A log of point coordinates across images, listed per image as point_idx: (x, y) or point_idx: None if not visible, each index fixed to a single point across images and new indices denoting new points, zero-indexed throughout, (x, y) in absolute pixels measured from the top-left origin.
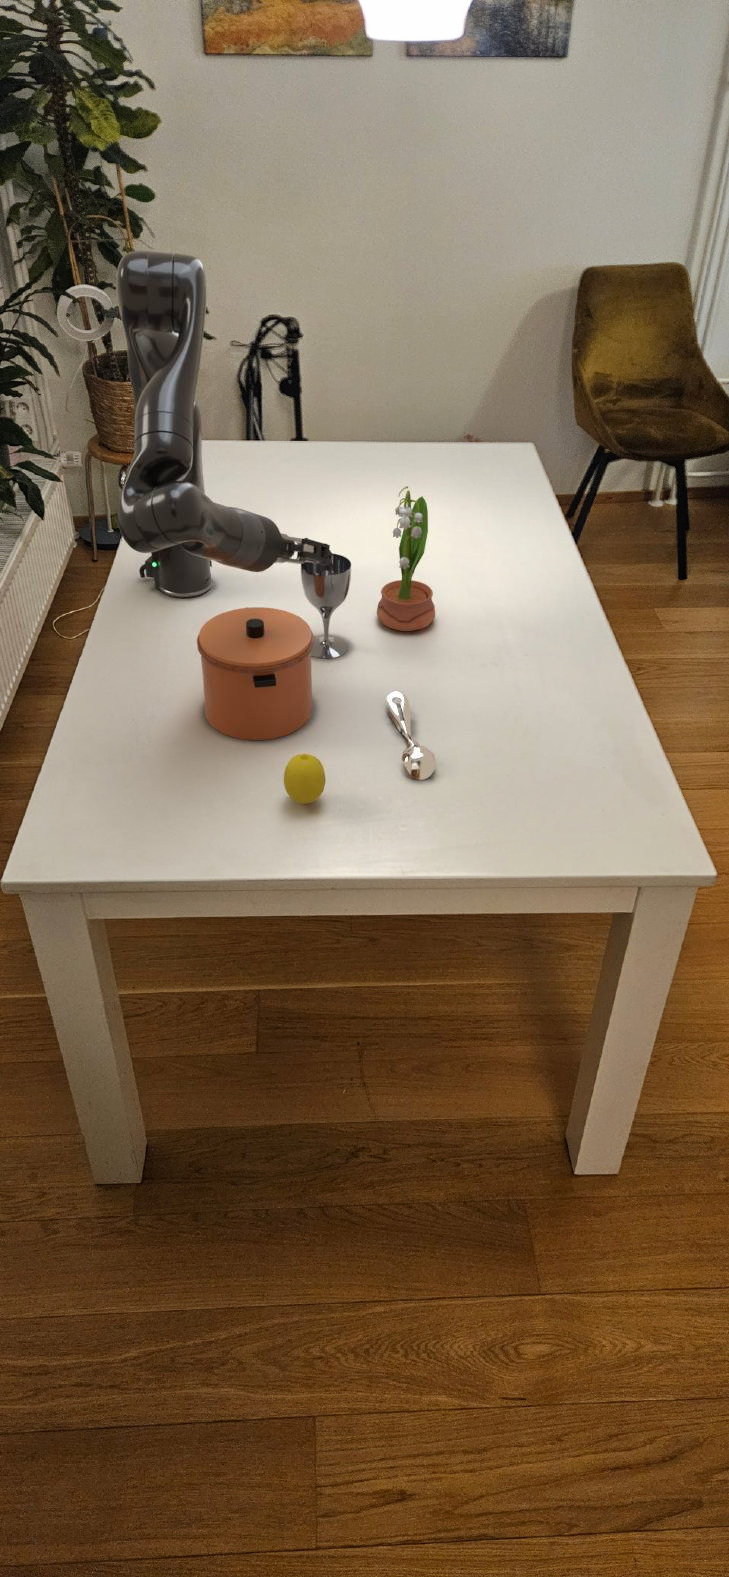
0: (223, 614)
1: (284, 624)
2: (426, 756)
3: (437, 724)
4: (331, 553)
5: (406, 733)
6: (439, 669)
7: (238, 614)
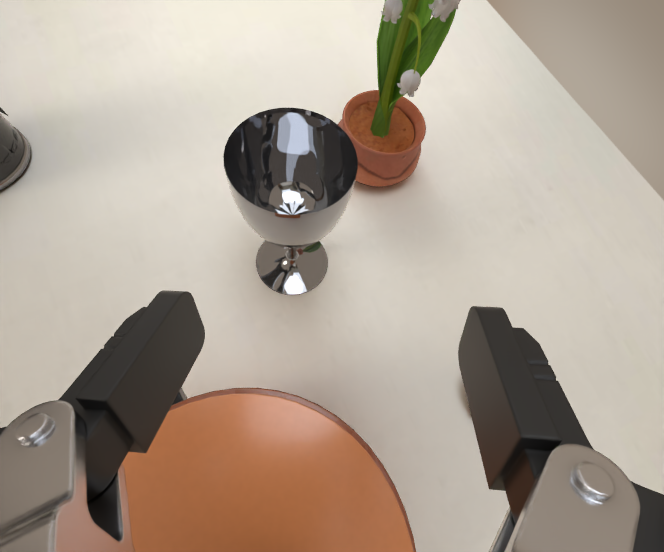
0: None
1: (296, 482)
2: None
3: None
4: (537, 347)
5: None
6: (473, 259)
7: None
